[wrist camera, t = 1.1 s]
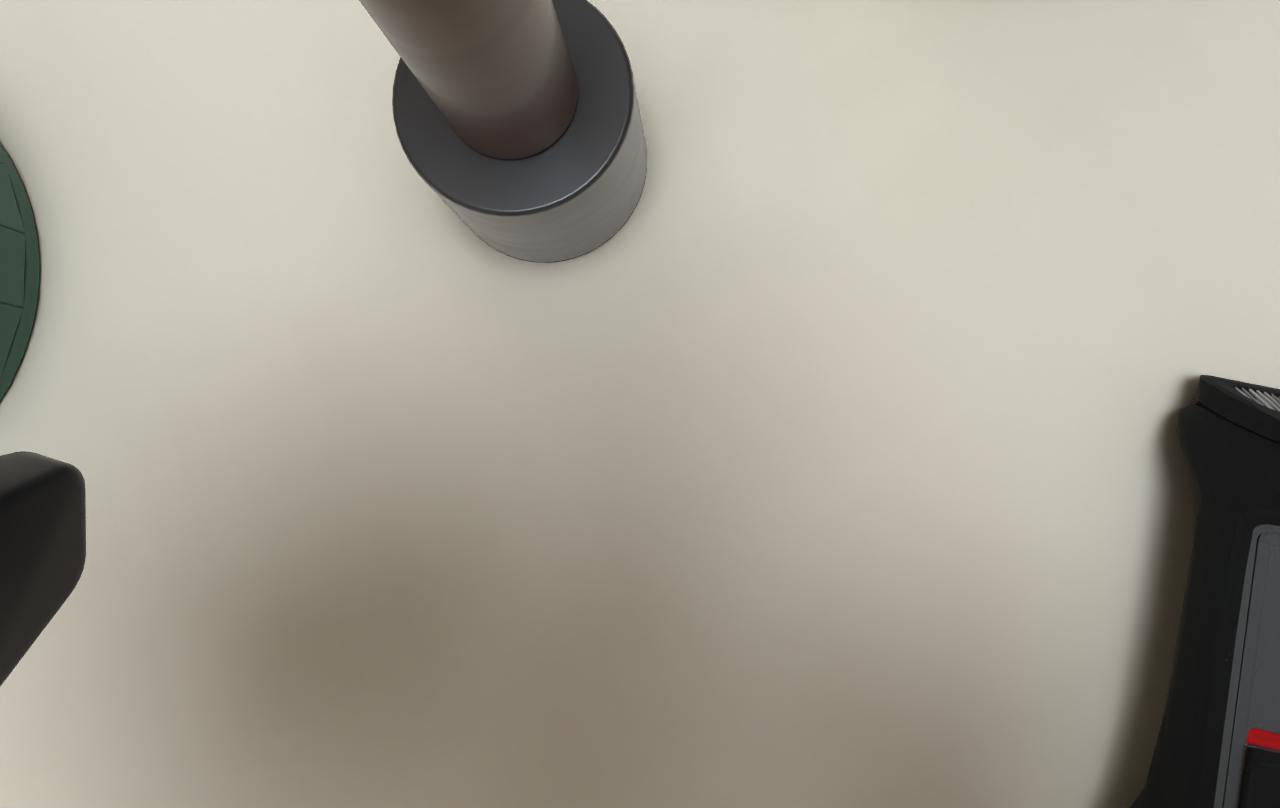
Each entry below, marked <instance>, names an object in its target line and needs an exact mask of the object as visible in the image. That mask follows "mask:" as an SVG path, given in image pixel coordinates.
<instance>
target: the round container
mask: <svg viewBox="0 0 1280 808" xmlns="http://www.w3.org/2000/svg"><path fill="white" fill-rule="evenodd" d="M39 271H40V268H39V252H38V239H37V234H36V229H35V224H34V218H33V213H32V209H31V206H30V204H29V201H28V198H27V195H26V192H25V189H24V186H23V183H22V181H21V179H20V177H19V175H18V173H17V171H16V169H15V167H14V165H13V163H12V161H11V159H10V157H9V155H8V154H7V153H6V151H5V150H4V148H3V147H2V145H1V144H0V400H1V398H2V397H3V395H4V394H5V392H6V390H7V389H8V387H9V386H10V384H11V381H12V379H13V377H14V375H15V373H16V371H17V369H18V367H19V364H20V362H21V360H22V358H23V355H24V352H25V349H26V346H27V343H28V340H29V337H30V334H31V330H32V326H33V321H34V316H35V311H36V306H37V300H38V287H39Z"/></svg>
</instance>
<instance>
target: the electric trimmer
mask: <svg viewBox="0 0 1280 808" xmlns="http://www.w3.org/2000/svg"><path fill="white" fill-rule="evenodd" d="M1196 398H1197V400H1198V401H1197V402H1195V403H1193V404H1191V405H1189V406H1187V407H1184V408H1182V409H1180V410H1179V412H1178V423H1177V433H1178V436H1179V440H1180V443H1181V447H1182V450H1183V452H1184V454H1185V457H1186V459H1187V461H1188V463H1189V466H1190V469H1191V472H1192V475H1193V479H1194V482H1195V485H1196V488H1197V506H1198V509H1197V517H1196V526H1195V534H1194V542H1193V551H1192V557H1191V563H1190V569H1189V574H1188V580H1187V586H1186V592H1185V597H1184V603H1183V609H1182V614H1181V620H1180V626H1179V631H1178V637H1177V643H1176V648H1175V654H1174V660H1173V665H1172V671H1171V677H1170V682H1169V688H1168V694H1167V699H1166V705H1165V711H1164V716H1163V721H1162V725H1161V729H1160V733H1159V736H1158V740H1157V744H1156V748H1155V751H1154V755H1153V759H1152V763H1151V767H1150V770H1149V774H1148V778H1147V782H1146V785H1145V787H1144V789H1143V790H1142V792H1141V793H1140V795H1139V796H1138V798H1137V799H1136V801H1135V802H1134V804H1133V805H1132V807H1131V808H1280V389H1275V388H1270V387H1265V386H1259V385H1254V384H1249V383H1244V382H1239V381H1234V380H1229V379H1224V378H1219V377H1214V376H1208V375H1201V376H1200V380H1199V384H1198V388H1197V393H1196Z"/></svg>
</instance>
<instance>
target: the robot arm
mask: <svg viewBox="0 0 1280 808" xmlns="http://www.w3.org/2000/svg"><path fill="white" fill-rule="evenodd" d="M85 557H86V510H85V481H84V478H83V476H82V474H81V472H80V471H79V470H78V469H77V468H76V467H74V466H73V465H71V464H68V463H65V462H62V461H58V460H55V459H52V458H49V457H46V456H43V455H40V454H37V453H32V452H15V453H11V454H7V455H2V456H0V686H1V685H2V684H3V682H4V681H5V680H6V678H7V677H8V676H9V674H10V673H11V672H12V670H13V669H14V668H15V666H16V665H17V664H18V662H19V661H20V660H21V659H22V657H23V656H24V655H25V653H26V652H27V651H28V649H29V648H30V647H31V645H32V644H33V643H34V641H35V640H36V639H37V637H38V636H39V635H40V633H41V632H42V631H43V629H44V628H45V627H46V626H47V624H48V623H49V622H50V620H51V619H52V618H53V616H54V615H55V614H56V612H57V611H58V610H59V608H60V607H61V606H62V604H63V603H64V602H65V600H66V599H67V598H68V596H69V595H70V594H71V592H72V591H73V589H74V588H75V586H76V585H77V583H78V581H79V579H80V577H81V574H82V571H83V568H84V564H85Z"/></svg>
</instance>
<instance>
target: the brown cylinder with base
mask: <svg viewBox="0 0 1280 808" xmlns="http://www.w3.org/2000/svg"><path fill="white" fill-rule="evenodd" d="M359 1H360V2H361V3H362V5H363V6H364V7H365V9H366V10H367V12H368V13H369V14H370V16H371V17H372V18H373V20H374V21H375V22H376V24H377V25H378V27H379V28H380V29H381V31H382V32H383V33H384V35H385V36H386V38H387V39H388V40H389V42H390V43H391V44H392V46H393V47H394V48H395V50H396V51H397V53H398V54H399V55H400V60H399V64H398V67H397V70H396V74H395V79H394V85H393V100H392V105H393V116H394V122H395V127H396V131H397V135H398V138H399V140H400V143H401V146H402V148H403V150H404V152H405V154H406V156H407V158H408V160H409V162H410V163H411V164H412V166H413V167H414V169H415V170H416V171H417V173H418V174H419V175H420V176H421V177H422V179H423V180H424V181H425V182H426V183H427V184H428V185H429V186H430V187H431V188H432V189H433V190H434V191H435V192H436V193H437V194H438V195H439V196H440V197H441V198H442V199H443V201H444V202H445V203H446V204H447V205H448V206H449V207H450V208H451V209H452V210H453V211H454V212H455V213H456V214H457V215H458V216H459V217H460V218H461V219H462V220H463V221H464V223H465V224H466V225H467V226H468V227H469V228H470V229H471V230H472V231H473V232H474V233H475V234H476V235H477V236H478V237H479V238H480V239H482V240H483V241H484V242H485V243H487V244H488V245H490V246H491V247H493V248H495V249H496V250H498V251H500V252H502V253H504V254H507V255H509V256H511V257H515V258H518V259H522V260H527V261H534V262H554V261H563V260H567V259H571V258H575V257H578V256H580V255H583V254H585V253H588V252H590V251H592V250H593V249H595V248H597V247H599V246H600V245H602V244H603V243H605V242H606V241H607V240H609V239H610V238H611V237H612V236H613V235H614V234H615V233H616V232H617V231H619V230H620V228H621V227H622V226H623V225H624V224H625V222H626V221H627V220H628V219H629V217H630V215H631V214H632V212H633V210H634V209H635V207H636V205H637V203H638V200H639V198H640V196H641V193H642V190H643V186H644V183H645V177H646V171H647V152H646V143H645V138H644V132H643V127H642V122H641V116H640V111H639V105H638V100H637V95H636V89H635V84H634V78H633V73H632V69H631V65H630V61H629V57H628V55H627V52H626V50H625V47H624V45H623V43H622V41H621V39H620V37H619V36H618V34H617V32H616V30H615V29H614V28H613V26H612V25H611V24H610V22H609V21H608V20H607V18H606V17H605V16H604V15H603V14H602V13H601V12H600V11H599V10H598V9H597V8H596V7H595V6H593V5H592V4H591V3H590V2H588V1H587V0H359Z"/></svg>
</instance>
